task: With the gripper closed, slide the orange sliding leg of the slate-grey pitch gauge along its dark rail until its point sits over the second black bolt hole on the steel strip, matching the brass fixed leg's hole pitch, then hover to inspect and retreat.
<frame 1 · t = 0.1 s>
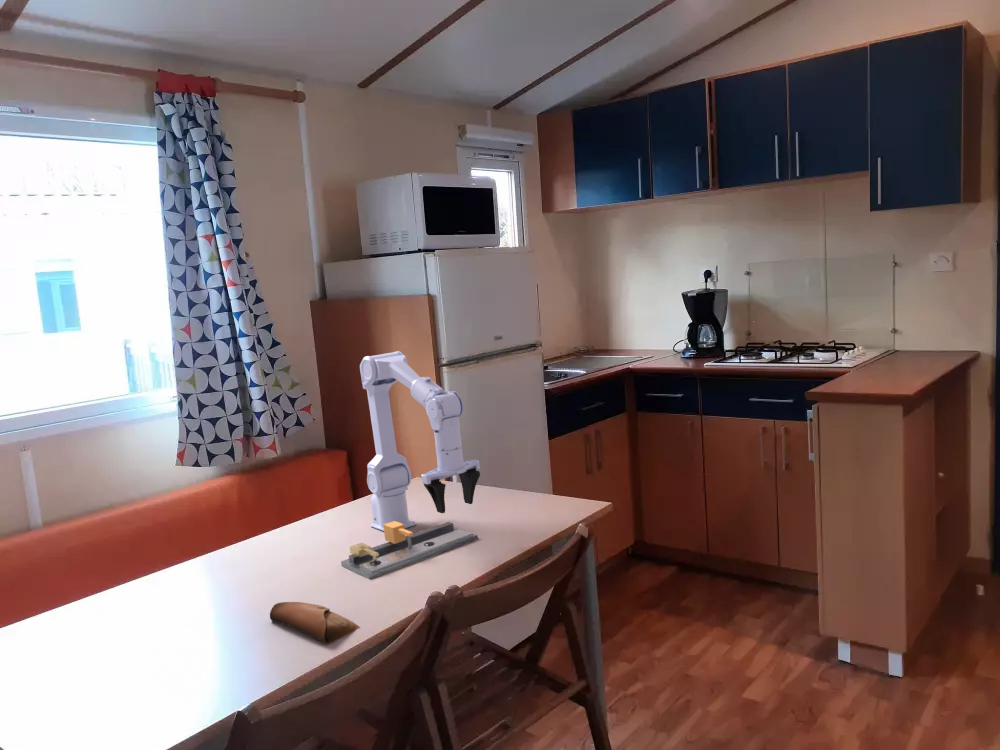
hand: (455, 507, 176), 10 cm above the table, fingers open, 7 cm apart
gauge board: (411, 552, 180), on the table
sunglasses case: (315, 628, 147), on the table
sliding leg: (400, 536, 179), point 4 cm above the table, slide at 5.0 cm
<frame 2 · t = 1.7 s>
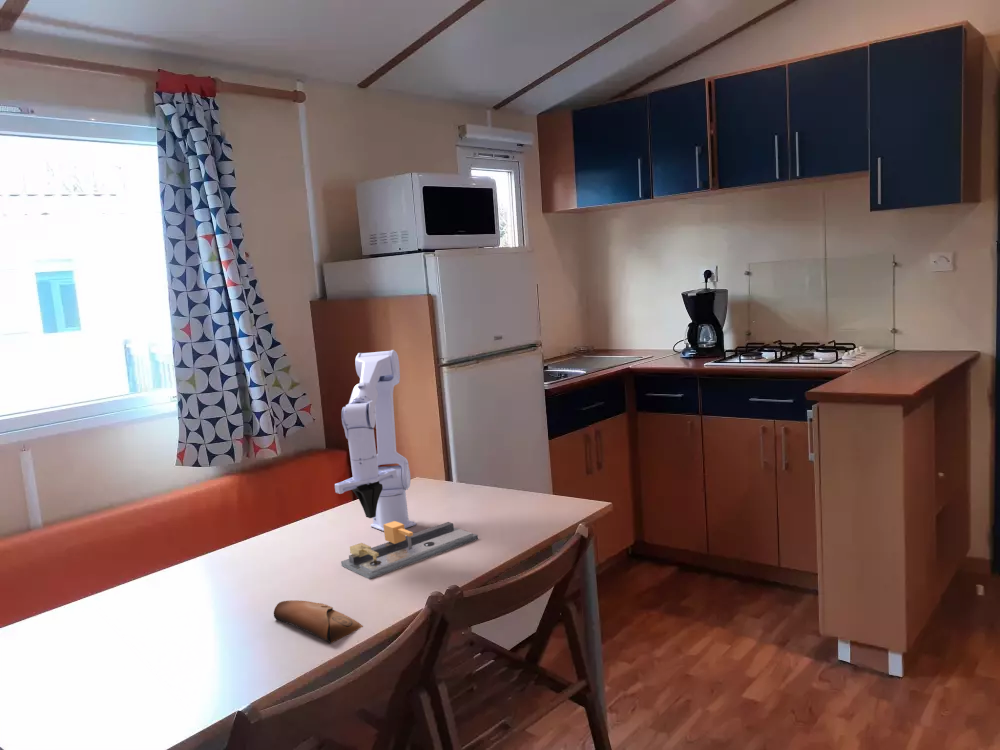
hand: (370, 516, 176), 10 cm above the table, fingers closed
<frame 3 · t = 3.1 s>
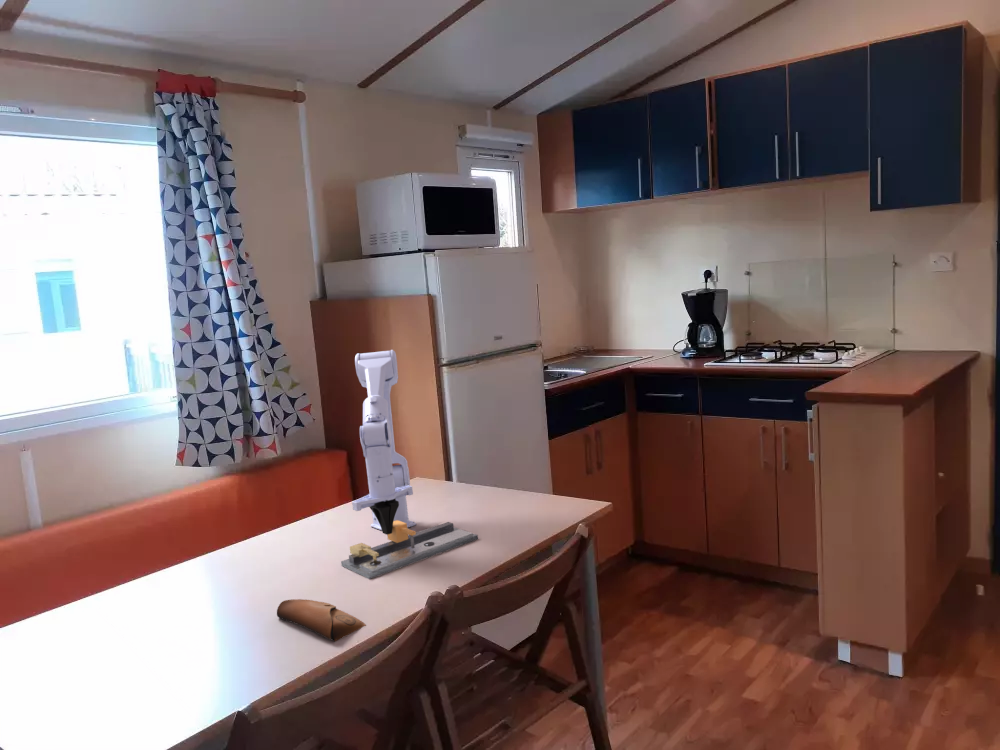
hand: (387, 533, 179), 5 cm above the table, fingers closed
sliding leg: (403, 535, 179), point 4 cm above the table, slide at 5.7 cm, touching gripper
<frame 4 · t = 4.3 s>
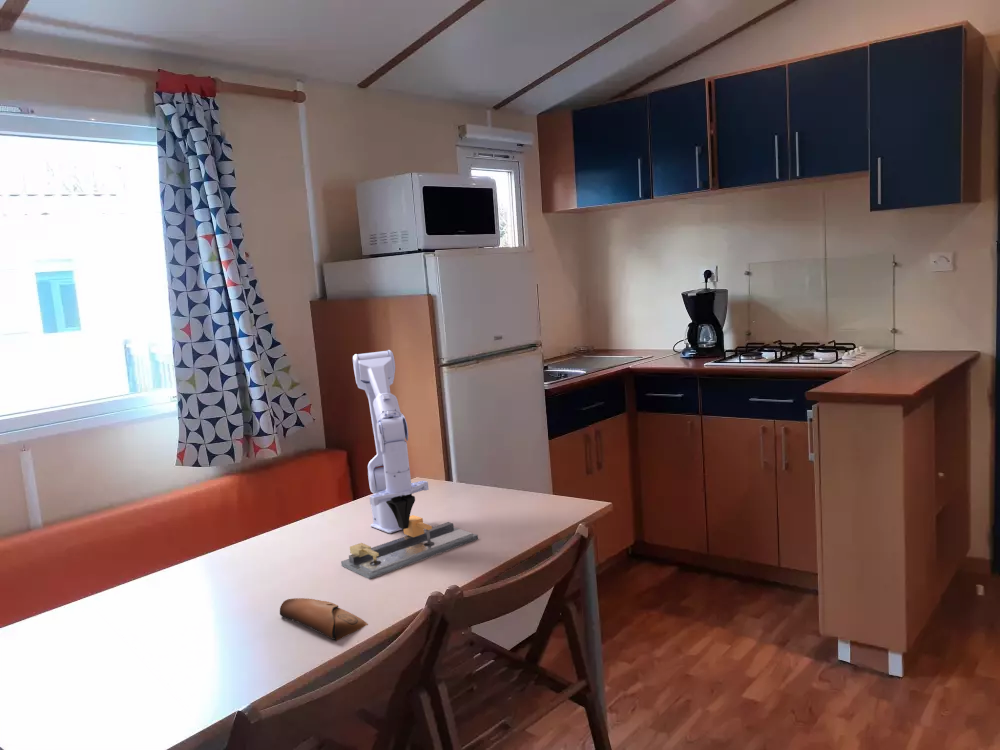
hand: (403, 527, 182), 5 cm above the table, fingers closed
sliding leg: (419, 529, 182), point 4 cm above the table, slide at 10.1 cm, touching gripper
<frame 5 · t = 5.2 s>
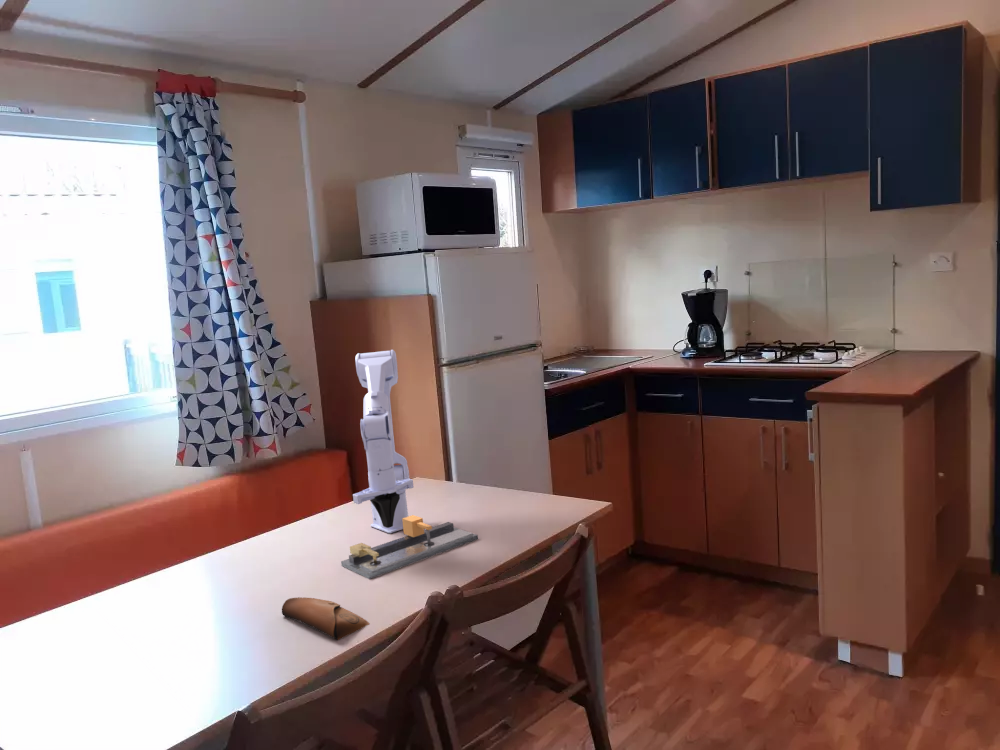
hand: (388, 526, 179), 6 cm above the table, fingers closed
sliding leg: (419, 529, 182), point 4 cm above the table, slide at 10.1 cm
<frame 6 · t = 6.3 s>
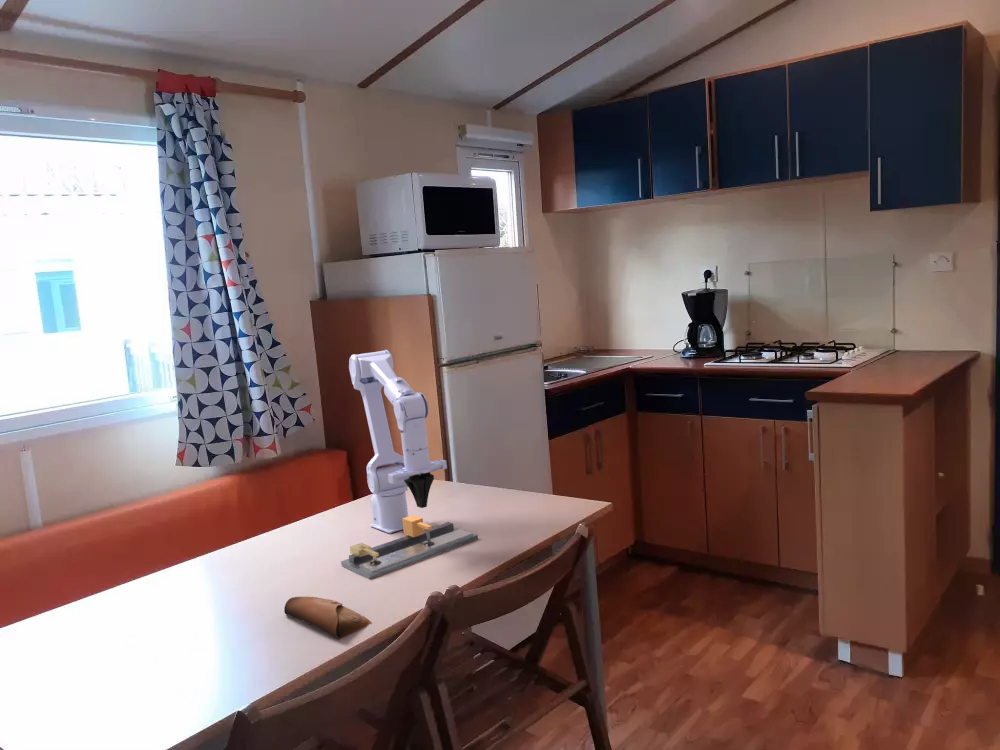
hand: (422, 506, 180), 10 cm above the table, fingers closed
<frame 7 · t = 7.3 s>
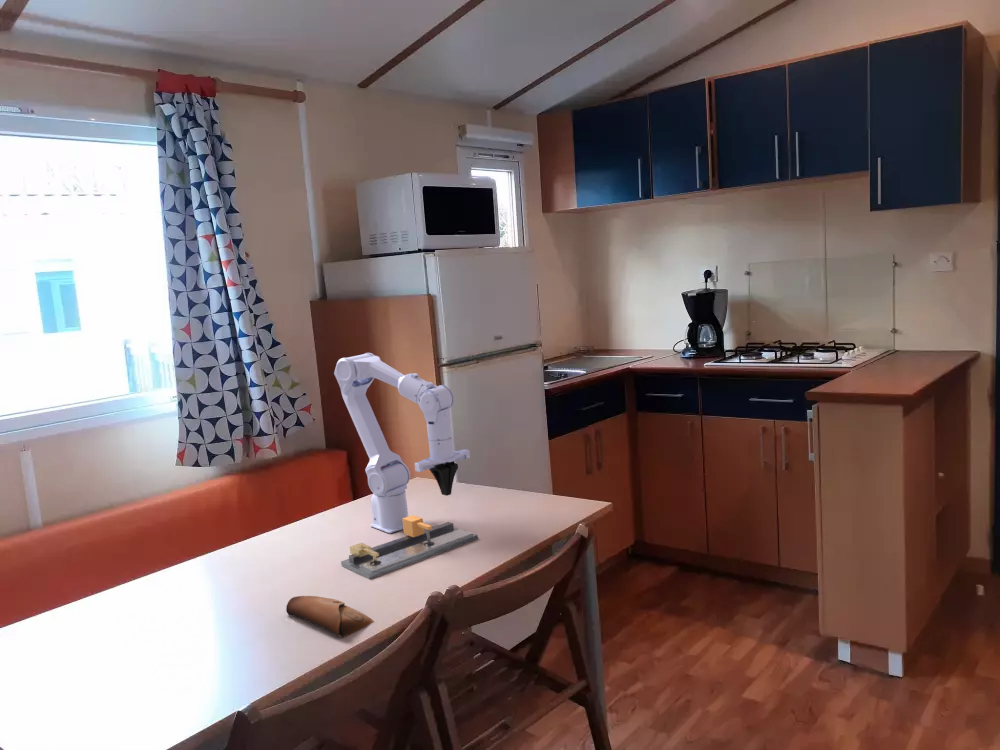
hand: (446, 494, 188), 10 cm above the table, fingers closed
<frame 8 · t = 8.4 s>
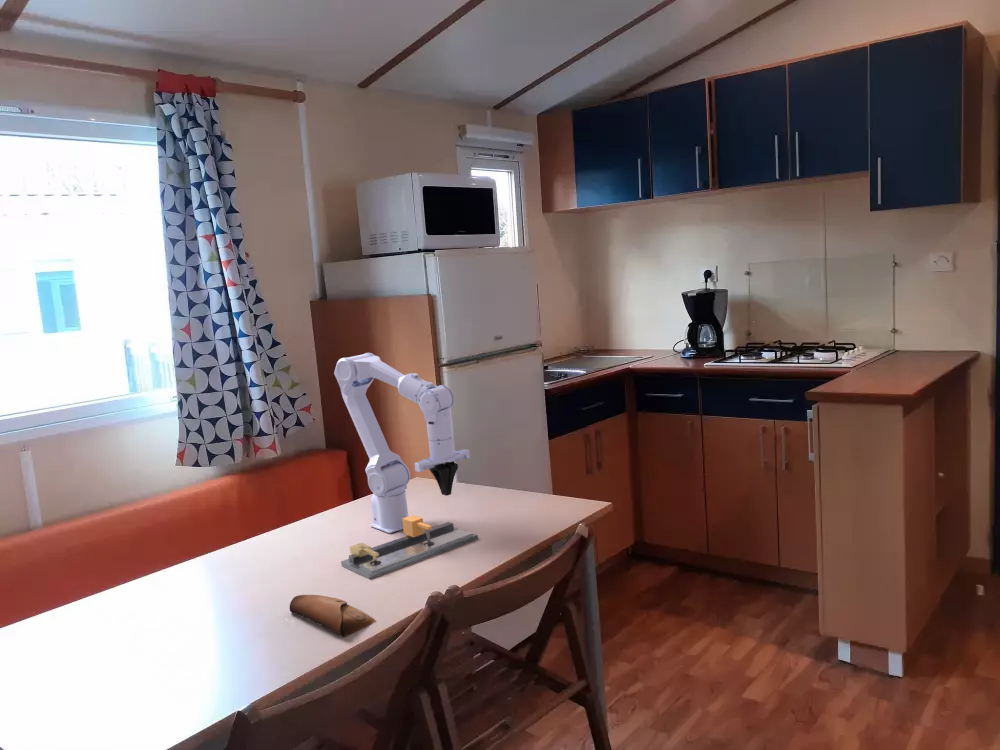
hand: (446, 494, 188), 10 cm above the table, fingers closed
at the end: sliding leg slide at 10.1 cm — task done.
